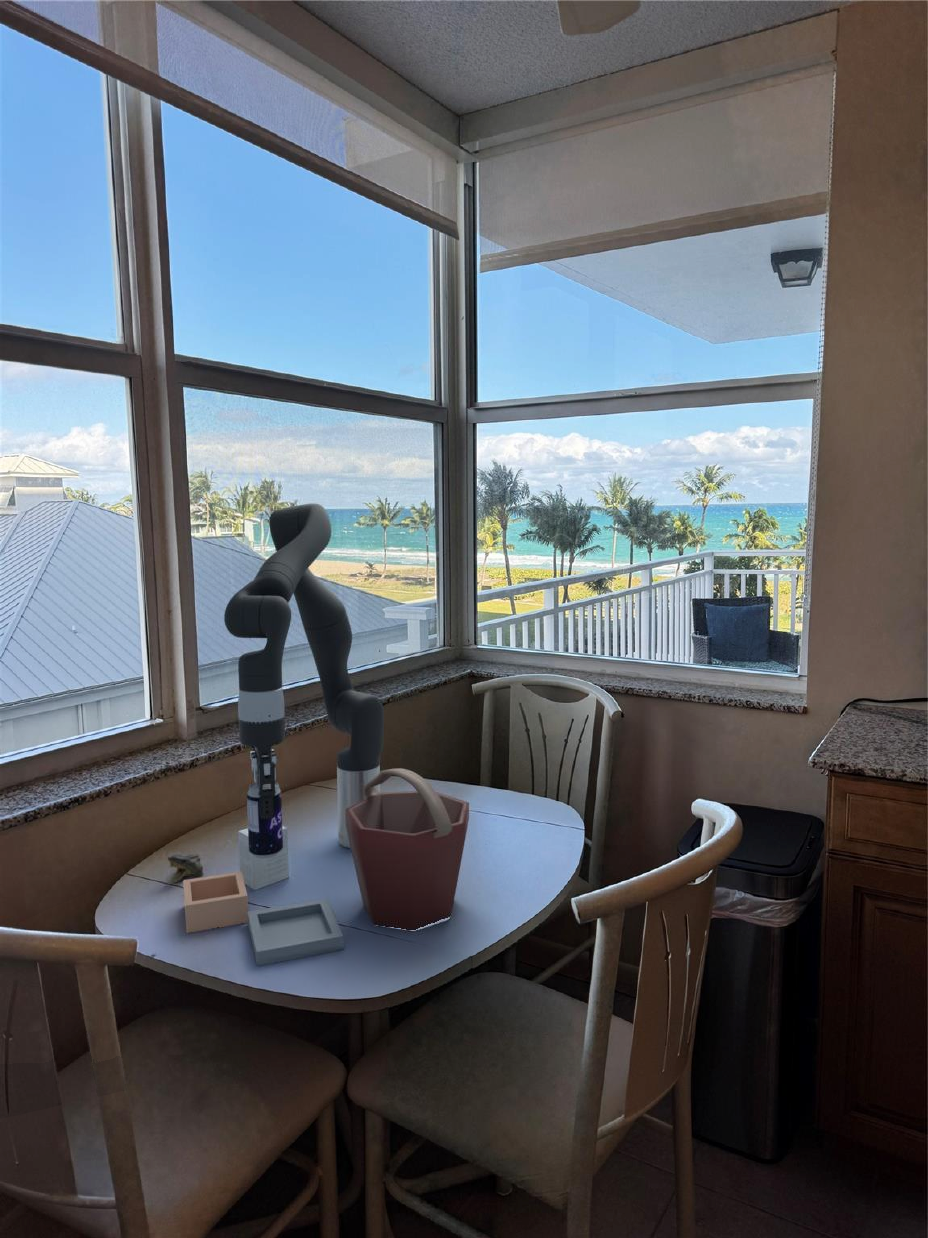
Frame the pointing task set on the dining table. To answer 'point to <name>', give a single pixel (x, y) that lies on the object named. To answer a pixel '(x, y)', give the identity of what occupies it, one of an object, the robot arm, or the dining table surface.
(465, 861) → the dining table surface
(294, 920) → the slate tray
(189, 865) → the dinosaur head
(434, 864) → the bucket
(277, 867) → the small box
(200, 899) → the peach open bin
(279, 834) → the beverage can
